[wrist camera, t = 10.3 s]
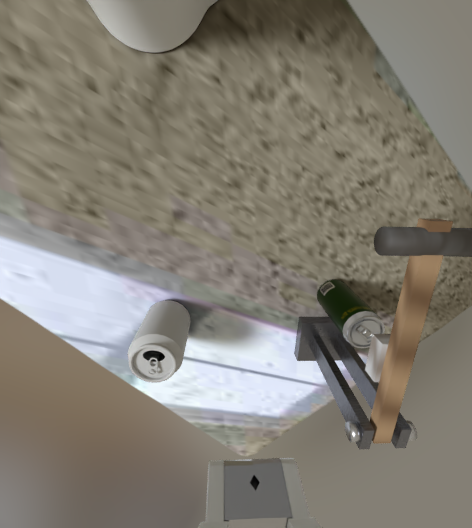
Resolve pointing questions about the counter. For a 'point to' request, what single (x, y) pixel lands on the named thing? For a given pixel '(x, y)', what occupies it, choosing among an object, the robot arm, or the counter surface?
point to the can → (160, 342)
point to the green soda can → (349, 313)
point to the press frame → (338, 348)
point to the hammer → (408, 310)
